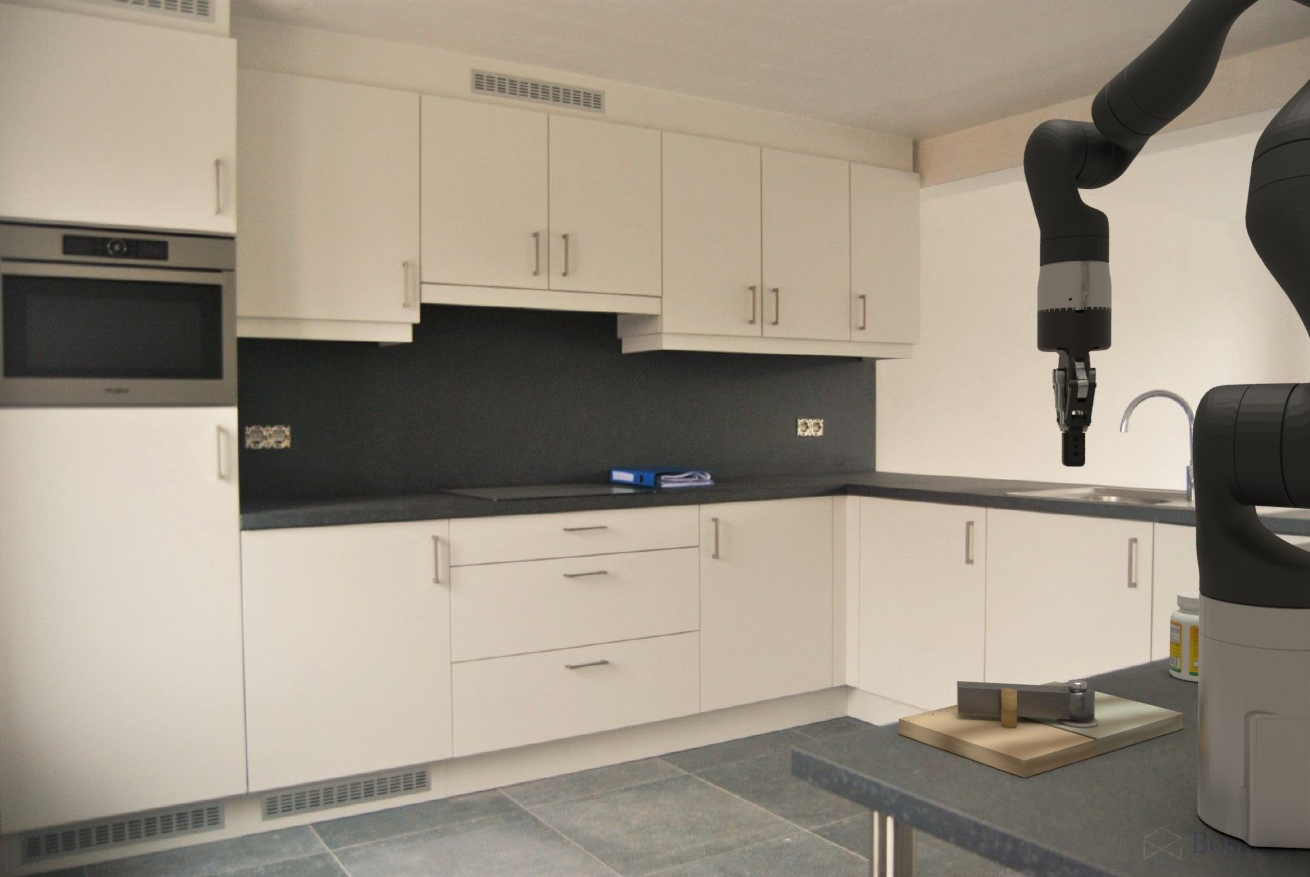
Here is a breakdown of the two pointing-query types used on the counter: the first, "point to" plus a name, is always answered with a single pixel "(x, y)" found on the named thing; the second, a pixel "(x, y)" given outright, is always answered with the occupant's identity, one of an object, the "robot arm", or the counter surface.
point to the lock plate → (1039, 732)
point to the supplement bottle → (1185, 637)
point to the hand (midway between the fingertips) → (1073, 466)
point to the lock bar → (1029, 700)
